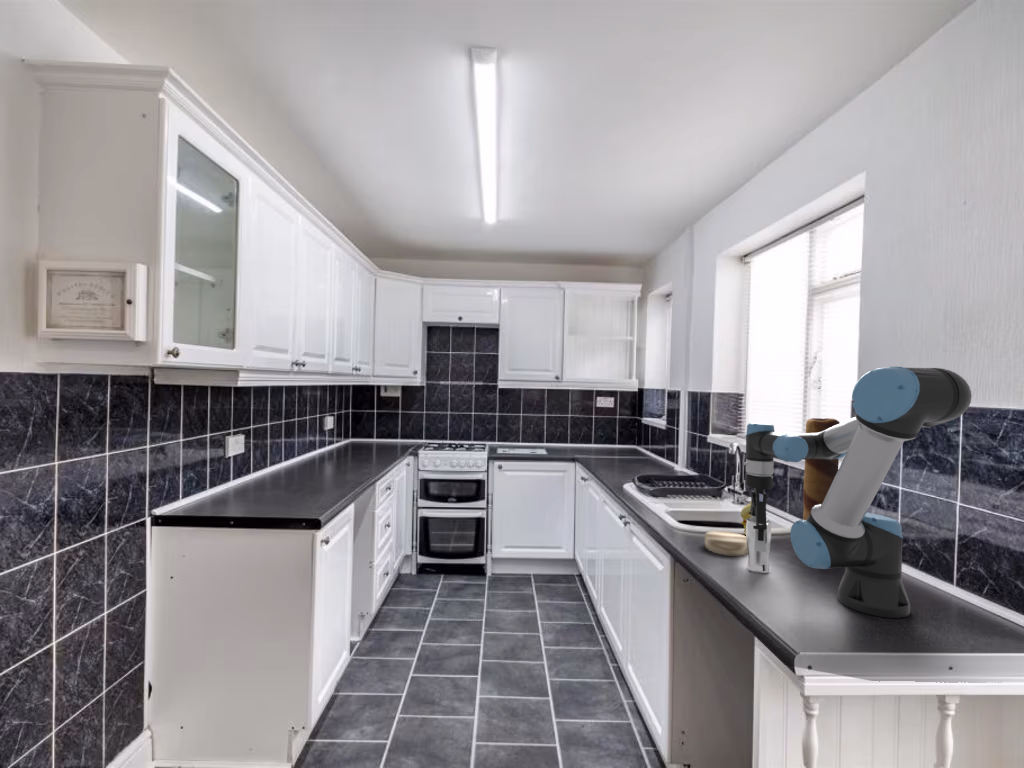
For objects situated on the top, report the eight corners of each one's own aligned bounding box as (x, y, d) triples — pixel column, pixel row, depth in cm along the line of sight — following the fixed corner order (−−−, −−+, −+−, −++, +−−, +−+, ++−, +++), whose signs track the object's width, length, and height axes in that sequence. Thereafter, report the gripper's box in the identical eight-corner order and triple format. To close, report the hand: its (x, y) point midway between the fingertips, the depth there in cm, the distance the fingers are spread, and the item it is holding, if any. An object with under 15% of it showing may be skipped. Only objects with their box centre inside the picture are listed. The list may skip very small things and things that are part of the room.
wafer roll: (845, 559, 165) (847, 419, 165) (812, 558, 165) (814, 419, 165) (826, 548, 175) (828, 417, 175) (795, 548, 175) (797, 417, 175)
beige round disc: (751, 558, 165) (751, 545, 165) (704, 552, 170) (704, 540, 170) (747, 545, 178) (747, 533, 178) (704, 540, 183) (704, 529, 183)
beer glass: (770, 568, 156) (771, 519, 156) (771, 576, 149) (772, 524, 149) (745, 564, 159) (746, 516, 159) (745, 572, 152) (745, 521, 152)
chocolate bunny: (737, 533, 192) (738, 493, 192) (767, 533, 192) (767, 494, 192) (745, 538, 185) (745, 497, 185) (776, 539, 185) (776, 498, 185)
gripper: (742, 466, 167) (741, 530, 167) (748, 480, 144) (747, 555, 144) (768, 468, 164) (766, 533, 165) (778, 483, 141) (777, 559, 141)
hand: (757, 544), depth 154 cm, fingers open, 13 cm apart
